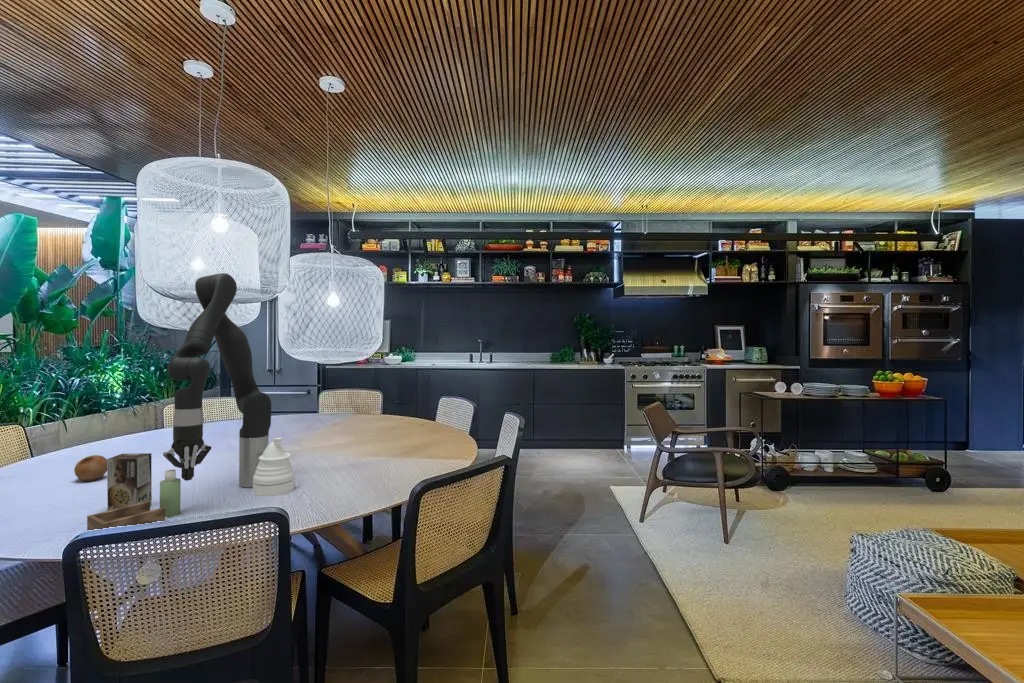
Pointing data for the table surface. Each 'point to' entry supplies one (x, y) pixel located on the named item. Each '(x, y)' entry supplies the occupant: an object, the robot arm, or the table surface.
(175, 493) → the bottle
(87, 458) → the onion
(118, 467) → the coffee box
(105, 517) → the u rest
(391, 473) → the table surface
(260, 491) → the honey pot
